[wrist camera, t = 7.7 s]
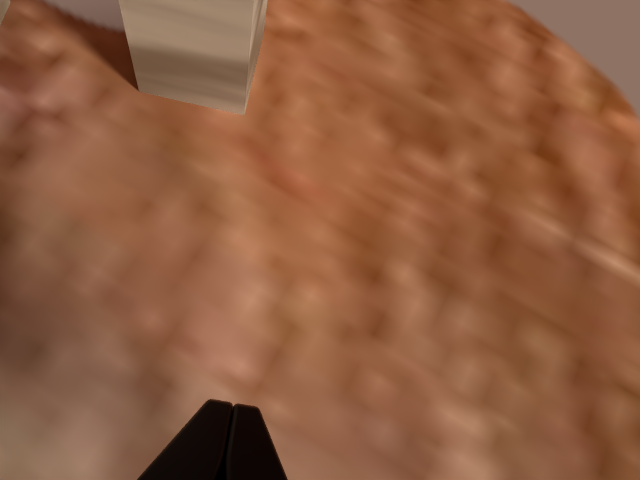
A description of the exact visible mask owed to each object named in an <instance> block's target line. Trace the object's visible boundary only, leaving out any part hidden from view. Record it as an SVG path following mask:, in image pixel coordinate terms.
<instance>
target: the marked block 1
mask: <svg viewBox="0 0 640 480" xmlns="http://www.w3.org/2000/svg"><path fill="white" fill-rule="evenodd" d="M9 5H10V0H0V25H1V23H2V20H3V18H4V16H5V14H6V11H7V9H8V7H9Z"/></svg>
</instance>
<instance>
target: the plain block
mask: <svg viewBox="0 0 640 480" xmlns="http://www.w3.org/2000/svg"><path fill="white" fill-rule="evenodd" d="M118 2H119V6H120V10H121V15H122V19H123V24H124V28H125V32H126V37H127V41H128V45H129V50H130V54H131V59H132V63H133V67H134V72H135V76H136V80H137V85H138V89H139V92H143V93H148V94H152V95H157V96H161V97H165V98H170V99H174V100H179V101H183V102H187V103H192V104H196V105H201V106H205V107H209V108H214V109H218V110H223V111H227V112H231V113H236V114H240V115H245V110H246V106H247V102H248V98H249V93H250V89H251V85H252V81H253V76H254V72H255V68H256V64H257V59H258V55H259V51H260V46H261V42H262V38H263V34H264V26H265V17H266V8H267V0H118Z"/></svg>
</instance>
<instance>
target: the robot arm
mask: <svg viewBox="0 0 640 480" xmlns="http://www.w3.org/2000/svg"><path fill="white" fill-rule="evenodd" d="M232 409H233V410H232ZM137 480H288V479H287V477H286V474H285V472H284V469H283V467H282V464H281V462H280V459H279V457H278V454H277V452H276V449H275V447H274V444H273V442H272V439H271V437H270V434H269V432H268V429H267V427H266V424H265V422H264V419H263V417H262V414H261V412H260V410H259V408H257V407H255V406H250V405H244V404H235V405H234V406H233V405H232V403H230V402H226V401H220V400H214V399H210V400H208V401H206V402H205V404H204V405H203V406H202V407H201V408H200V409H199V410H198V411H197V413H196V414H195V415H194V416H193V417H192V418H191V419H190V420H189V422H188V423H187V424H186V425H185V426H184V427H183V428H182V429H181V431H180V432H179V433H178V434H177V435H176V436H175V437H174V438H173V440H172V441H171V442H170V443H169V444H168V445H167V446H166V447H165V449H164V450H163V451H162V452H161V453H160V454H159V455H158V456H157V458H156V459H155V460H154V461H153V462H152V463H151V464H150V465H149V467H148V468H147V469H146V470H145V471H144V472H143V473H142V474H141V476H140V477H139V478H138V479H137Z"/></svg>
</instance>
